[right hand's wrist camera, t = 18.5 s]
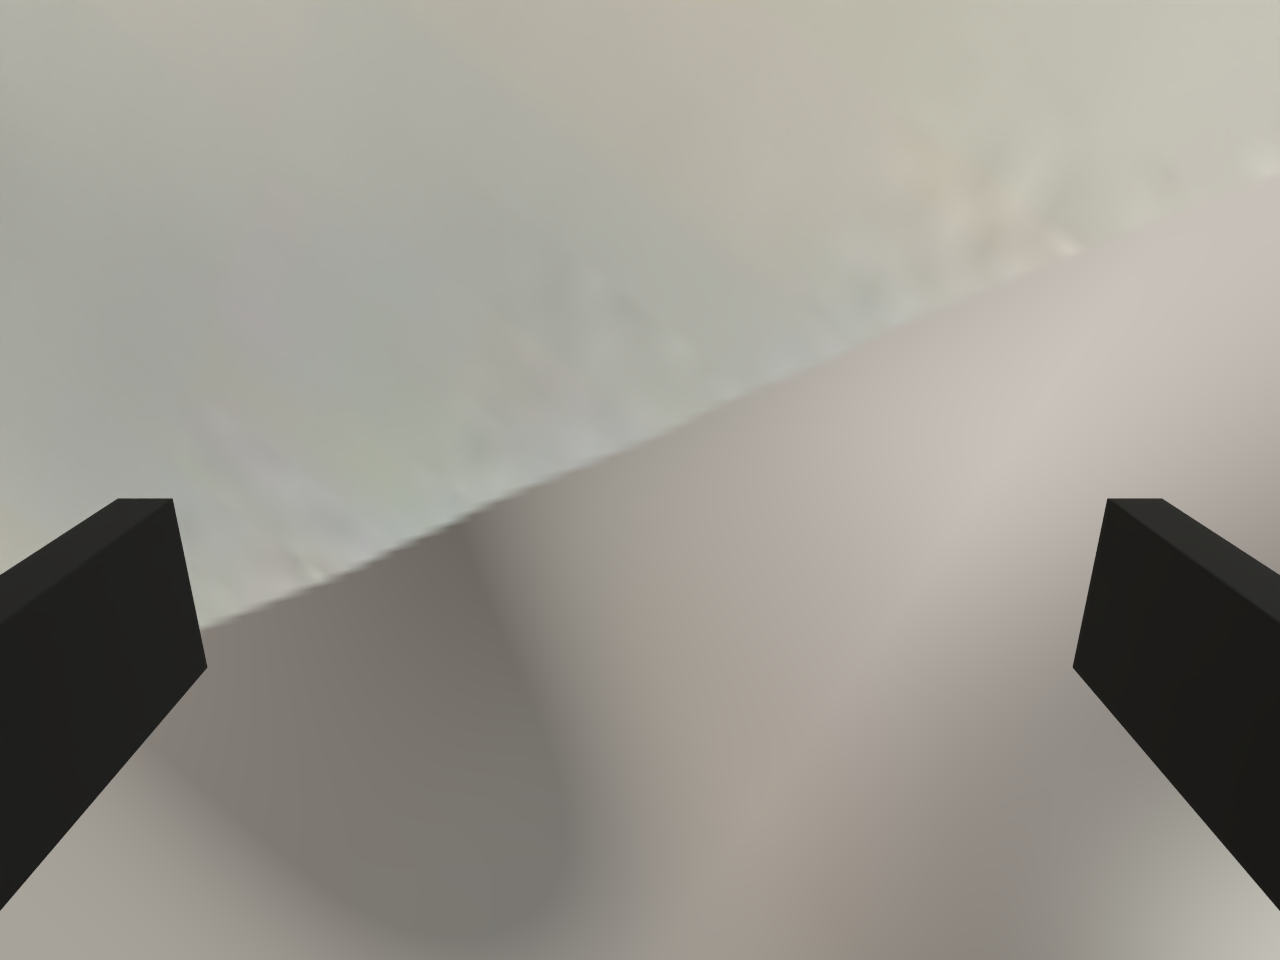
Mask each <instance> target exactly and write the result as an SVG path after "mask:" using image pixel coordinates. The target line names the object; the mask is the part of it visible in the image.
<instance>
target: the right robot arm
mask: <svg viewBox="0 0 1280 960" xmlns="http://www.w3.org/2000/svg"><path fill="white" fill-rule="evenodd" d="M206 668H207V664H206V659H205V654H204V649H203V644H202V639H201V634H200V629H199V625H198V620H197V615H196V610H195V605H194V600H193V595H192V591H191V586H190V581H189V576H188V571H187V566H186V561H185V557H184V552H183V547H182V542H181V537H180V532H179V527H178V523H177V518H176V513H175V508H174V503H173V499H117V500H115V501H113V502H112V503H110V504H109V505H107V506H106V507H104V508H103V509H101V510H100V511H98V512H97V513H95V514H93V515H92V516H90V517H89V518H87V519H86V520H84V521H83V522H81V523H80V524H78V525H77V526H75V527H73V528H72V529H70V530H69V531H67V532H66V533H64V534H63V535H61V536H60V537H58V538H57V539H55V540H53V541H52V542H50V543H49V544H47V545H46V546H44V547H43V548H41V549H40V550H38V551H37V552H35V553H33V554H32V555H30V556H29V557H27V558H26V559H24V560H23V561H21V562H20V563H18V564H17V565H15V566H13V567H12V568H10V569H9V570H7V571H6V572H4V573H3V574H1V575H0V910H1V909H2V908H3V907H4V906H5V904H6V903H7V902H8V901H9V900H10V899H11V897H12V896H13V895H14V894H15V893H16V892H17V890H18V889H19V888H20V887H21V886H22V884H23V883H24V882H25V881H26V880H27V879H28V877H29V876H30V875H31V874H32V873H33V872H34V870H35V869H36V868H37V867H38V866H39V865H40V863H41V862H42V861H43V860H44V859H45V857H46V856H47V855H48V854H49V853H50V852H51V850H52V849H53V848H54V847H55V846H56V845H57V843H58V842H59V841H60V840H61V839H62V838H63V836H64V835H65V834H66V833H67V832H68V830H69V829H70V828H71V827H72V826H73V825H74V823H75V822H76V821H77V820H78V819H79V818H80V816H81V815H82V814H83V813H84V812H85V810H86V809H87V808H88V807H89V806H90V805H91V803H92V802H93V801H94V800H95V799H96V797H97V796H98V795H99V794H100V793H101V792H102V791H103V789H104V788H105V787H106V786H107V785H108V783H109V782H110V781H111V780H112V779H113V778H114V776H115V775H116V774H117V773H118V772H119V771H120V769H121V768H122V767H123V766H124V765H125V764H126V762H127V761H128V760H129V759H130V758H131V756H132V755H133V754H134V753H135V752H136V751H137V749H138V748H139V747H140V746H141V745H142V744H143V742H144V741H145V740H146V739H147V738H148V736H149V735H150V734H151V733H152V732H153V731H154V729H155V728H156V727H157V726H158V725H159V724H160V722H161V721H162V720H163V719H164V718H165V717H166V715H167V714H168V713H169V712H170V711H171V709H172V708H173V707H174V706H175V705H176V704H177V702H178V701H179V700H180V699H181V698H182V697H183V695H184V694H185V693H186V692H187V691H188V690H189V688H190V687H191V686H192V685H193V684H194V682H195V681H196V680H197V679H198V678H199V677H200V675H201V674H202V673H203V672H204V671H205V670H206ZM1073 668H1074V670H1075V671H1076V672H1077V673H1078V674H1079V675H1080V677H1081V678H1082V679H1083V680H1084V681H1085V682H1086V684H1087V685H1088V686H1089V687H1090V688H1091V689H1092V691H1093V692H1094V693H1095V694H1096V695H1097V697H1098V698H1099V699H1100V700H1101V701H1102V702H1103V704H1104V705H1105V706H1106V707H1107V708H1108V709H1109V711H1110V712H1111V713H1112V714H1113V715H1114V717H1115V718H1116V719H1117V720H1118V721H1119V722H1120V724H1121V725H1122V726H1123V727H1124V728H1125V729H1126V731H1127V732H1128V733H1129V734H1130V735H1131V736H1132V738H1133V739H1134V740H1135V741H1136V742H1137V744H1138V745H1139V746H1140V747H1141V748H1142V749H1143V751H1144V752H1145V753H1146V754H1147V755H1148V756H1149V758H1150V759H1151V760H1152V761H1153V762H1154V764H1155V765H1156V766H1157V767H1158V768H1159V769H1160V771H1161V772H1162V773H1163V774H1164V775H1165V776H1166V778H1167V779H1168V780H1169V781H1170V782H1171V783H1172V785H1173V786H1174V787H1175V788H1176V789H1177V790H1178V792H1179V793H1180V794H1181V795H1182V796H1183V798H1184V799H1185V800H1186V801H1187V802H1188V803H1189V805H1190V806H1191V807H1192V808H1193V809H1194V811H1195V812H1196V813H1197V814H1198V815H1199V816H1200V818H1201V819H1202V820H1203V821H1204V822H1205V823H1206V825H1207V826H1208V827H1209V828H1210V829H1211V830H1212V832H1213V833H1214V834H1215V835H1216V836H1217V838H1218V839H1219V840H1220V841H1221V842H1222V843H1223V845H1224V846H1225V847H1226V848H1227V849H1228V850H1229V852H1230V853H1231V854H1232V855H1233V856H1234V857H1235V859H1236V860H1237V861H1238V862H1239V863H1240V865H1241V866H1242V867H1243V868H1244V869H1245V870H1246V872H1247V873H1248V874H1249V875H1250V876H1251V877H1252V879H1253V880H1254V881H1255V882H1256V883H1257V884H1258V886H1259V887H1260V888H1261V889H1262V890H1263V892H1264V893H1265V894H1266V895H1267V896H1268V897H1269V899H1270V900H1271V901H1272V902H1273V903H1274V904H1275V906H1276V907H1277V908H1278V909H1279V910H1280V575H1279V574H1277V573H1276V572H1274V571H1273V570H1271V569H1270V568H1268V567H1267V566H1265V565H1263V564H1262V563H1260V562H1259V561H1257V560H1256V559H1254V558H1253V557H1251V556H1250V555H1248V554H1246V553H1245V552H1243V551H1242V550H1240V549H1239V548H1237V547H1236V546H1234V545H1233V544H1231V543H1230V542H1228V541H1226V540H1225V539H1223V538H1222V537H1220V536H1219V535H1217V534H1216V533H1214V532H1213V531H1211V530H1210V529H1208V528H1206V527H1205V526H1203V525H1202V524H1200V523H1199V522H1197V521H1196V520H1194V519H1193V518H1191V517H1190V516H1188V515H1187V514H1185V513H1183V512H1182V511H1180V510H1179V509H1177V508H1176V507H1174V506H1173V505H1171V504H1170V503H1168V502H1167V501H1165V500H1163V499H1107V503H1106V508H1105V513H1104V518H1103V523H1102V528H1101V532H1100V537H1099V542H1098V547H1097V552H1096V557H1095V561H1094V566H1093V571H1092V576H1091V581H1090V586H1089V591H1088V595H1087V600H1086V605H1085V610H1084V615H1083V620H1082V625H1081V629H1080V634H1079V639H1078V644H1077V649H1076V654H1075V659H1074V663H1073Z"/></svg>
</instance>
